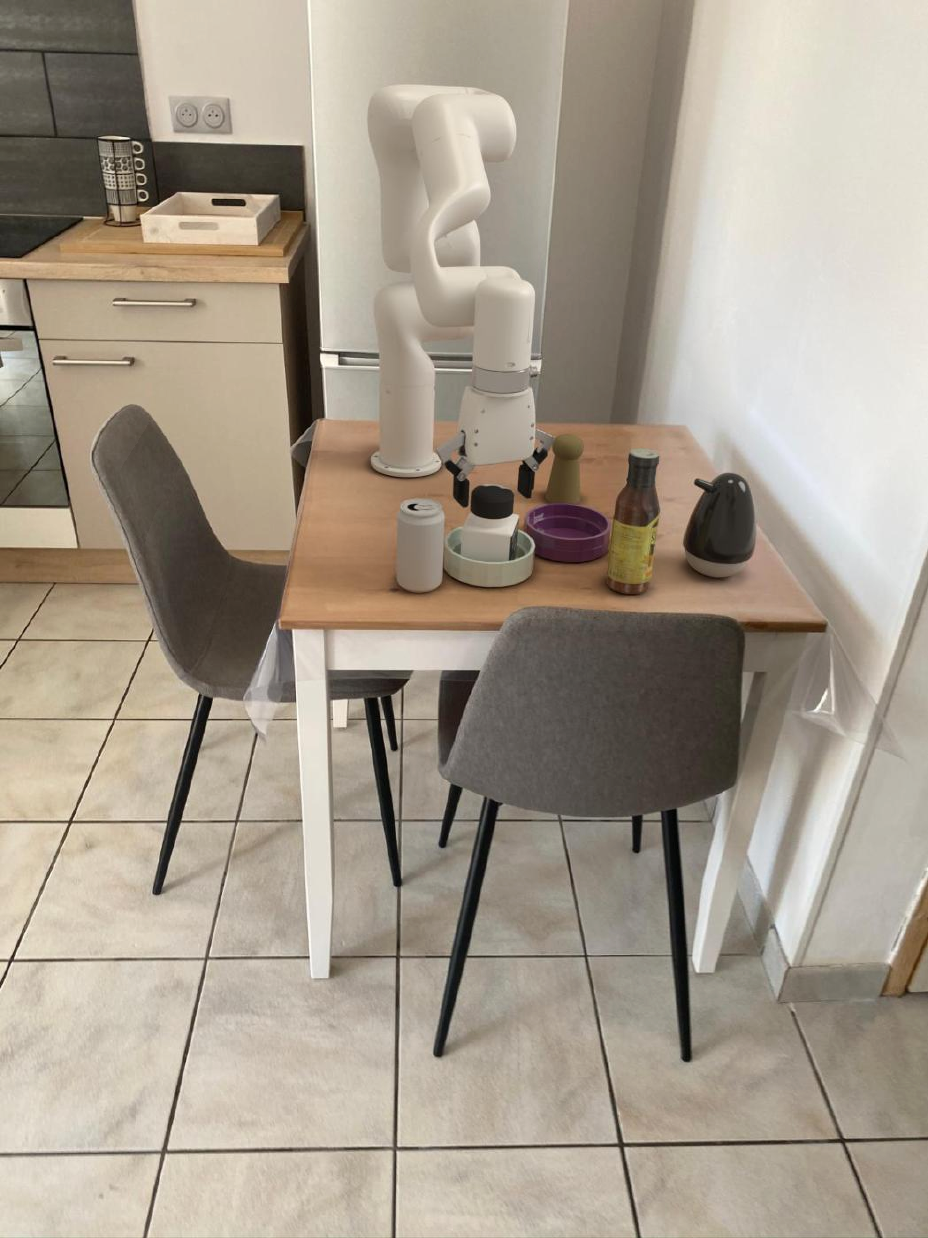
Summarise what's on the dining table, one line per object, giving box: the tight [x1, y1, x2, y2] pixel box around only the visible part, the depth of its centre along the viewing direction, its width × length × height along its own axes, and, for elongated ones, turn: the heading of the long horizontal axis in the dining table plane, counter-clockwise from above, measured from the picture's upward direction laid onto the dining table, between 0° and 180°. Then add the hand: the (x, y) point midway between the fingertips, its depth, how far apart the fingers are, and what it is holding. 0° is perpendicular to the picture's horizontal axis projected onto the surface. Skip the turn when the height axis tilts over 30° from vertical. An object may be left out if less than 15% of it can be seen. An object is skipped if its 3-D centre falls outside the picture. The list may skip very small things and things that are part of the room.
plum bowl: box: [522, 503, 612, 563], centre depth 146 cm, size 13×13×4 cm
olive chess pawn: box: [544, 433, 585, 505], centre depth 159 cm, size 6×6×11 cm
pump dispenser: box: [682, 471, 757, 578], centre depth 138 cm, size 10×10×15 cm
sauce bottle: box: [606, 447, 661, 595], centre depth 132 cm, size 7×6×20 cm
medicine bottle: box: [461, 483, 520, 562], centre depth 136 cm, size 7×7×12 cm
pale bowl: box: [443, 525, 536, 588], centre depth 139 cm, size 13×13×4 cm
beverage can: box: [396, 497, 446, 594], centre depth 131 cm, size 6×6×12 cm
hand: (493, 499), depth 134 cm, fingers open, 9 cm apart
